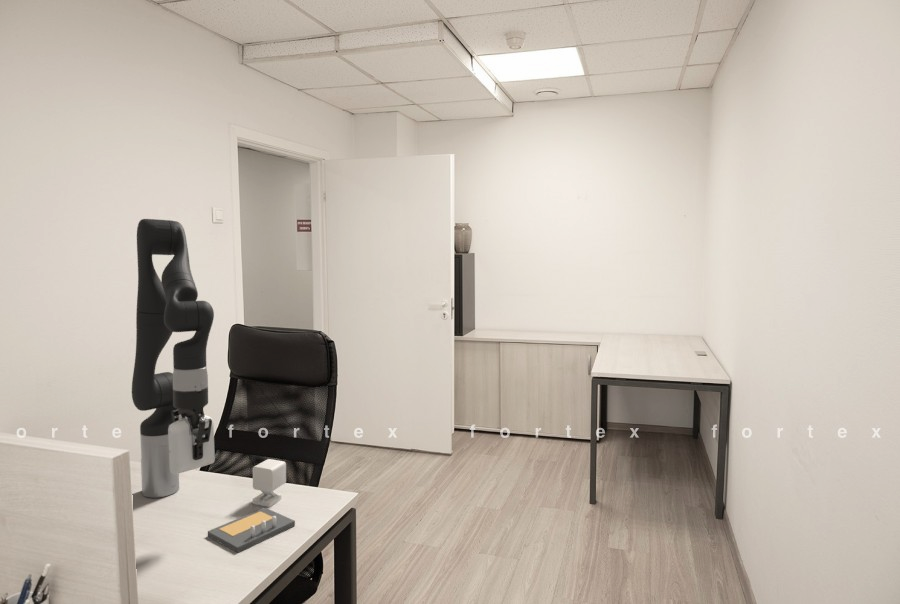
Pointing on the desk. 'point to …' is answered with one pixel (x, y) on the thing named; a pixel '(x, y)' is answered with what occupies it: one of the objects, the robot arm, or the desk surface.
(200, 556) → the desk surface
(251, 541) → the charging dock
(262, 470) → the security camera
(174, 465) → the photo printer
